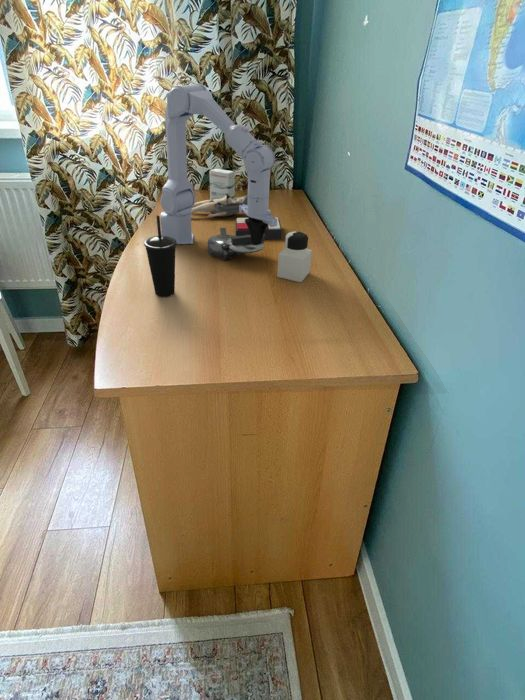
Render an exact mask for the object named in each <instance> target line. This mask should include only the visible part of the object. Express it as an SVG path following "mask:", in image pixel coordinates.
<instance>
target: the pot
mask: <svg viewBox="0 0 525 700" xmlns="http://www.w3.org/2000/svg"><path fill="white" fill-rule="evenodd" d="M226 228H227V227H220V228H219V233H220V234H217V235H216V234H215V235H213V236H212V235H211V236H210V237H209V238H208V239H207V252H208V255H210V256H211V257H213V258H217V259H222V260H223V261H224V262H227V261H229V259H232V258H237V257H239V256H240V255H241V254H242V253H238V252H234V251H232V250H230V249H222V248H221V245H222V244H226V242H227V240H228V239H230V238H231V237H234V236H235V235H232V234H227V229H226Z"/></svg>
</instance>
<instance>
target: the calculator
mask: <svg viewBox="0 0 525 700" xmlns="http://www.w3.org/2000/svg"><path fill="white" fill-rule="evenodd" d="M248 218H249V217H236V219H235V220H234V221H235V236H244V235H250V231H249V229H248V226H247V224H246V223H245V219H248ZM275 218H276V219H277V226H275V227H270V226H269V225H268V227H267V228H266V230H265V232H264V234H265V240H282V239H283V236H282V235H283V233H282V232H283V228H282V225H281V221H280V217H275Z"/></svg>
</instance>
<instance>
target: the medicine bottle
mask: <svg viewBox="0 0 525 700" xmlns="http://www.w3.org/2000/svg"><path fill="white" fill-rule="evenodd" d="M308 244H309V236H308V235H307V234H306V233H304V232H302V231H290V232H288V233H286V234H285V240H284V248H283V249H282V250H281V251H280V252H278V258H277V259H278V260H277V261H278V262H277V277H278V278H281V279H285V280H288V281H292V282H295V283H296V282H297V283H302V282H303V281H304V279H305V278H306V277H307V276H308V275H309V274H310V271H311V262H312V254H313V253H312V252H313V250H312V249H309V248H308Z"/></svg>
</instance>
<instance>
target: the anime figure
mask: <svg viewBox="0 0 525 700" xmlns="http://www.w3.org/2000/svg"><path fill="white" fill-rule="evenodd" d="M243 204H245V205H247V204H248V194H245V195H243V196H238V197H235V198H234V199H233V198H232V199H231V198H230V196H229V195H228V193H227V194H226V195H225V197H224V198H222V199H219V198H217V199H214V200H210V199H206V200H205V199H204V200H201V201H197V202H196V201H195V204H194V206H192V211H191V216H192V215H194V214H195V213H198V212H203V213H208V215H206V218H207V219H210V218H214V217H231V216H233V215H236V214H239V213H240V212H239V205H243ZM209 212H210V214H209Z"/></svg>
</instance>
